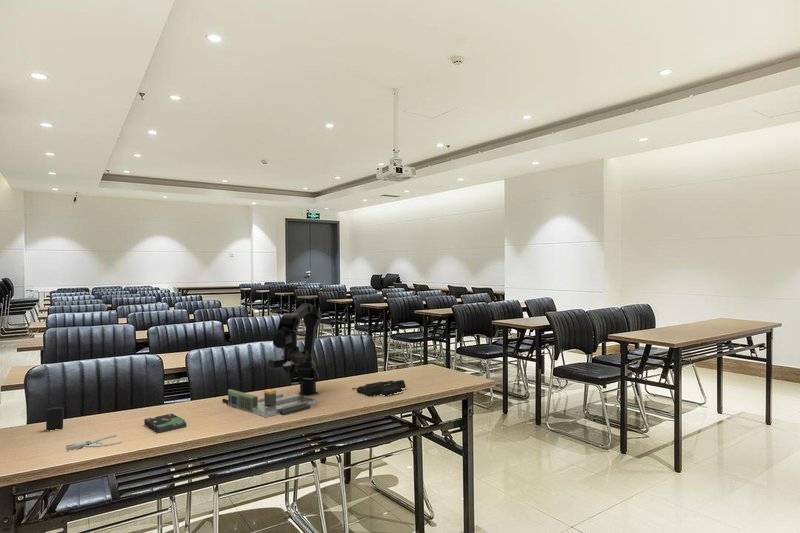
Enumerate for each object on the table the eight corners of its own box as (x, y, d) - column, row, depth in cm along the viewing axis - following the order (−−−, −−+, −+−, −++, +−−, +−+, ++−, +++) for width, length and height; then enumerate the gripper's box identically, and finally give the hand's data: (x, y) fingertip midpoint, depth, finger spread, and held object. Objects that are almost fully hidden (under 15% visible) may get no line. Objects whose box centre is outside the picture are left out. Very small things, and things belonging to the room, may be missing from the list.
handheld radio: (251, 414, 197) (219, 403, 213) (258, 412, 200) (226, 402, 216) (252, 397, 197) (219, 388, 213) (259, 396, 200) (226, 387, 216)
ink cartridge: (63, 427, 182) (63, 406, 182) (62, 429, 180) (62, 407, 180) (47, 429, 179) (47, 408, 180) (46, 431, 177) (46, 409, 178)
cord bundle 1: (304, 406, 205) (304, 400, 205) (310, 408, 202) (310, 401, 202) (277, 413, 196) (277, 406, 196) (283, 415, 193) (283, 408, 193)
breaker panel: (294, 398, 219) (294, 393, 219) (315, 404, 208) (315, 399, 208) (245, 409, 202) (245, 404, 202) (265, 417, 191) (265, 411, 191)
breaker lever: (271, 401, 204) (270, 388, 204) (276, 403, 201) (276, 390, 201) (264, 403, 202) (264, 390, 202) (269, 405, 199) (269, 391, 199)
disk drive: (143, 426, 184) (158, 435, 173) (143, 419, 184) (157, 427, 173) (171, 420, 191) (187, 427, 181) (171, 413, 191) (187, 420, 181)
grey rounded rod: (281, 399, 218) (281, 392, 218) (286, 400, 215) (286, 394, 215) (255, 405, 208) (255, 398, 208) (260, 406, 206) (259, 400, 206)
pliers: (121, 439, 164) (68, 450, 155) (121, 444, 164) (68, 455, 155) (116, 432, 172) (65, 442, 163) (116, 436, 172) (65, 446, 163)
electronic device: (374, 381, 252) (374, 371, 252) (411, 392, 228) (411, 381, 228) (340, 387, 239) (340, 377, 239) (375, 400, 216) (375, 389, 216)
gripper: (281, 349, 196) (281, 387, 196) (319, 343, 210) (319, 379, 210) (266, 346, 204) (267, 383, 204) (304, 341, 217) (304, 375, 217)
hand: (290, 380), depth 209 cm, fingers closed
